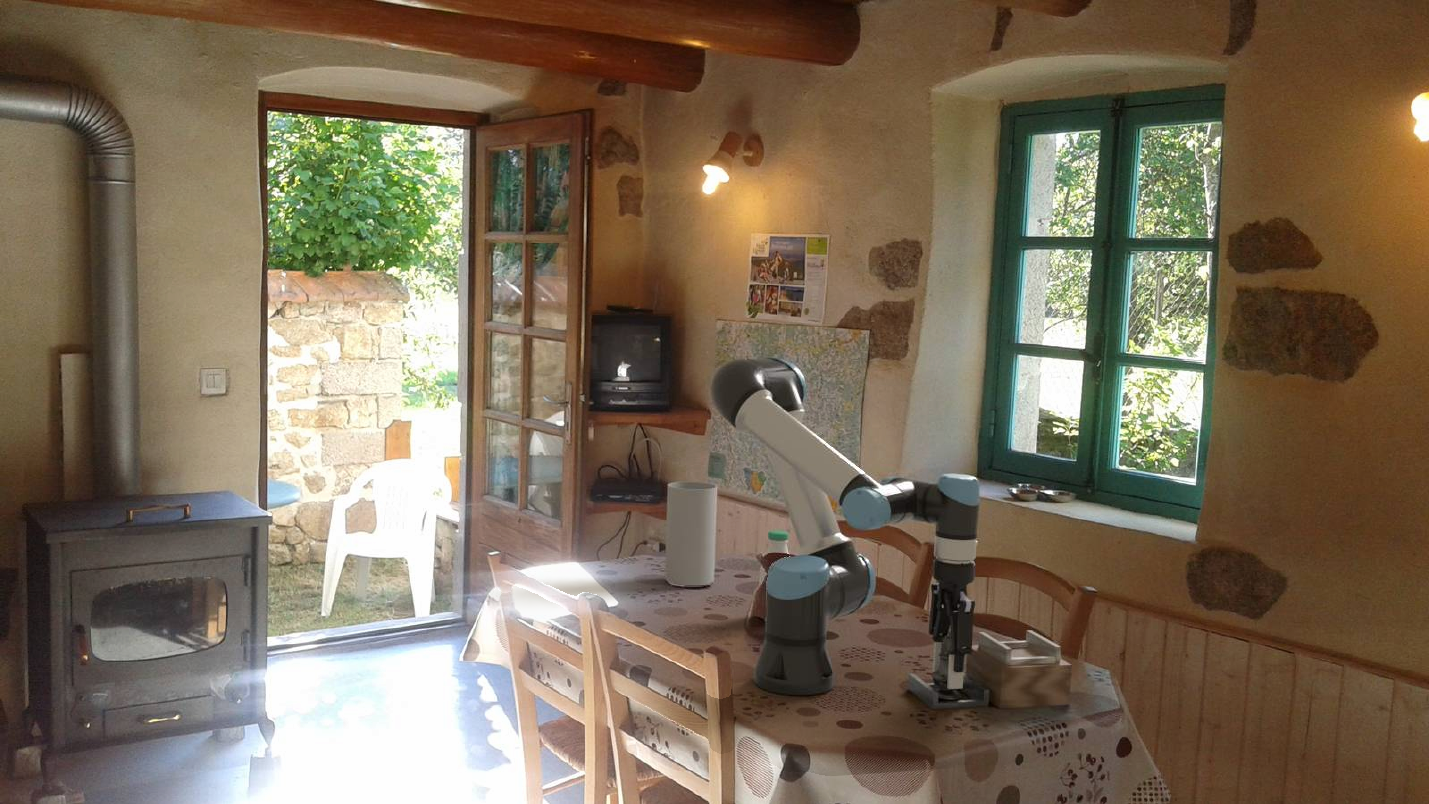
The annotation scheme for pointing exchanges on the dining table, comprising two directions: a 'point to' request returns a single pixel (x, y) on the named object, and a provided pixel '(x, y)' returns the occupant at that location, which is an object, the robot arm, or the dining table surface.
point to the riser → (1020, 671)
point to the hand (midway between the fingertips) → (947, 682)
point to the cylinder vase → (690, 533)
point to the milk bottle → (775, 547)
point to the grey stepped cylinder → (944, 672)
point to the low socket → (931, 699)
